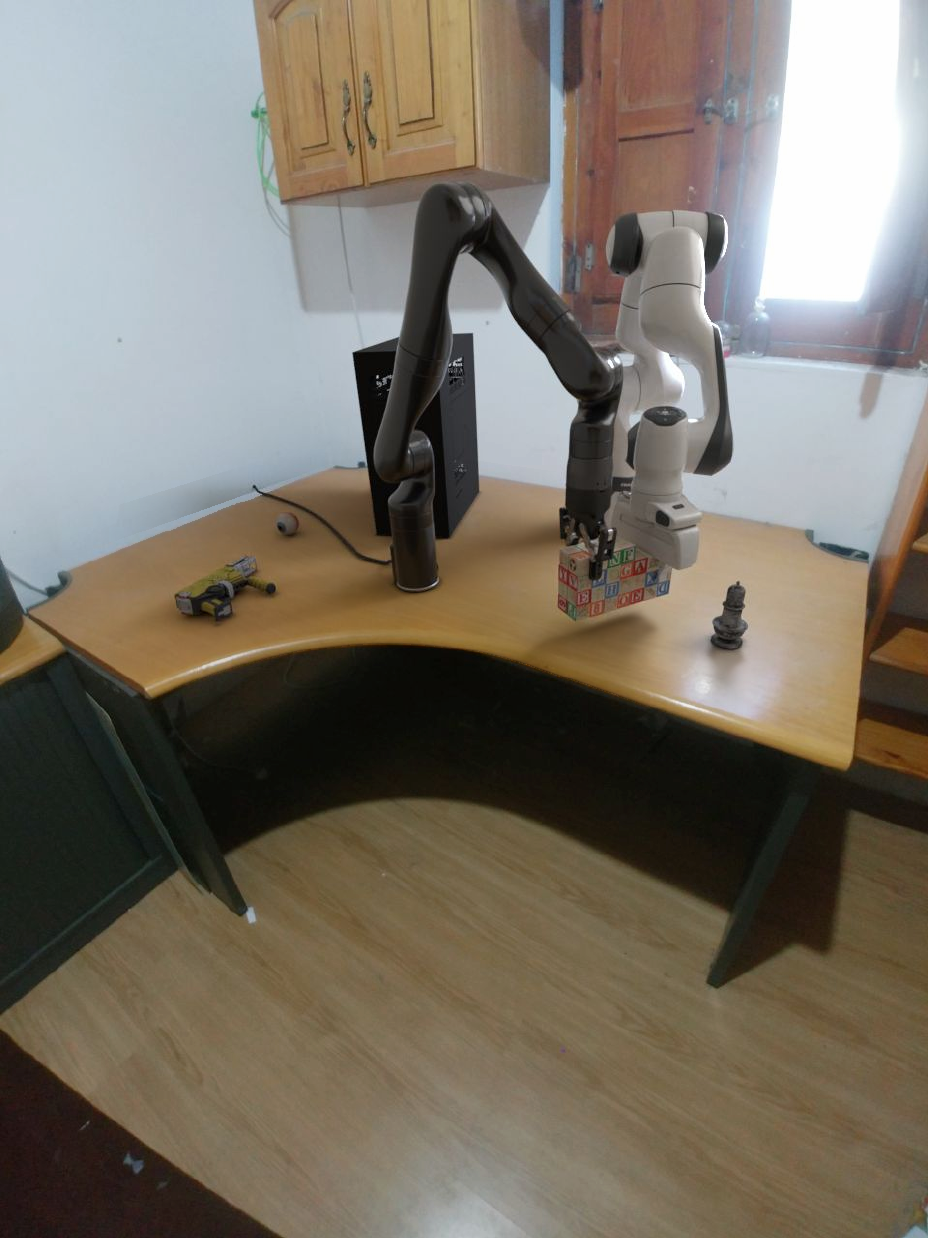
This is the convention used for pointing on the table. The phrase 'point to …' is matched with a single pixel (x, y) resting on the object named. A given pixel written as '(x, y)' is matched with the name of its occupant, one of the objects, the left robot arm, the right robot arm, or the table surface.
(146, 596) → the table surface
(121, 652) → the table surface
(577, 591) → the stack of blocks
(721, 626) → the grey chess piece
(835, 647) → the table surface
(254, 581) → the toy gun
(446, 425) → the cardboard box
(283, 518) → the eyeball
